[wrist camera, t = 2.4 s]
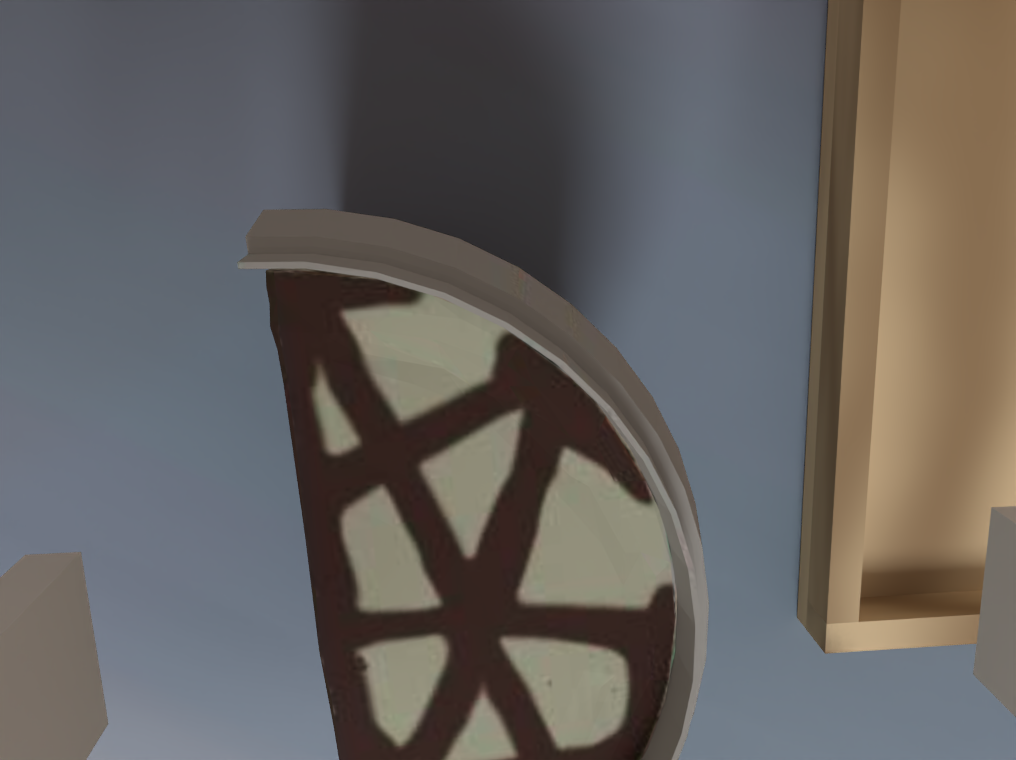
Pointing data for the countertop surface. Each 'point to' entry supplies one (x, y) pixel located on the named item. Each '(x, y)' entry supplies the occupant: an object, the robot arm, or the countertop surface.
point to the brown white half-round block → (479, 504)
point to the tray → (910, 323)
